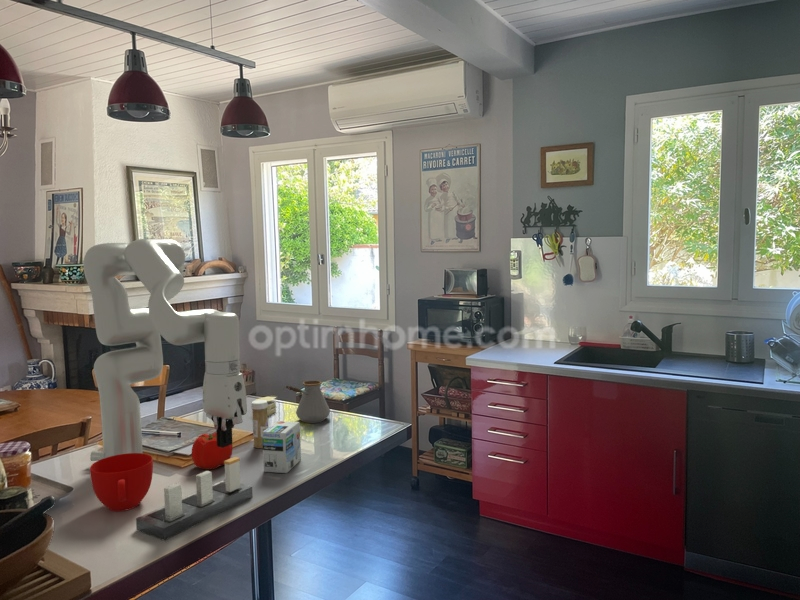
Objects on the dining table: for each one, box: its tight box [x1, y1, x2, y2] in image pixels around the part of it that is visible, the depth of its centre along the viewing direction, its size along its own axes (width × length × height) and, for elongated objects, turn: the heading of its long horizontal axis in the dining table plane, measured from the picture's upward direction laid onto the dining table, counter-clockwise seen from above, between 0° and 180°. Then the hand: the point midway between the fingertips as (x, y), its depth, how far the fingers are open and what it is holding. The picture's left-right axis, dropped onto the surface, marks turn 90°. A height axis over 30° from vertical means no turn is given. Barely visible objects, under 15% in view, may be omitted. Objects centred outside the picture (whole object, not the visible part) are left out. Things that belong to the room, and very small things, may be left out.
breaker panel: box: [135, 470, 253, 541], centre depth 131 cm, size 24×9×9 cm, turn 148°
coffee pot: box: [282, 380, 331, 424], centre depth 197 cm, size 21×12×15 cm, turn 157°
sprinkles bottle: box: [251, 399, 269, 449], centre depth 175 cm, size 5×5×14 cm
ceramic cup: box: [89, 452, 154, 512], centre depth 134 cm, size 13×17×10 cm
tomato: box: [191, 432, 234, 470], centre depth 160 cm, size 11×11×9 cm
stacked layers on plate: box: [254, 396, 278, 417], centre depth 211 cm, size 10×9×6 cm
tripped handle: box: [224, 456, 241, 492], centre depth 137 cm, size 3×2×7 cm, turn 148°
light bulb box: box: [262, 420, 302, 474], centre depth 159 cm, size 11×7×11 cm, turn 168°
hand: (224, 445), depth 137 cm, fingers closed
